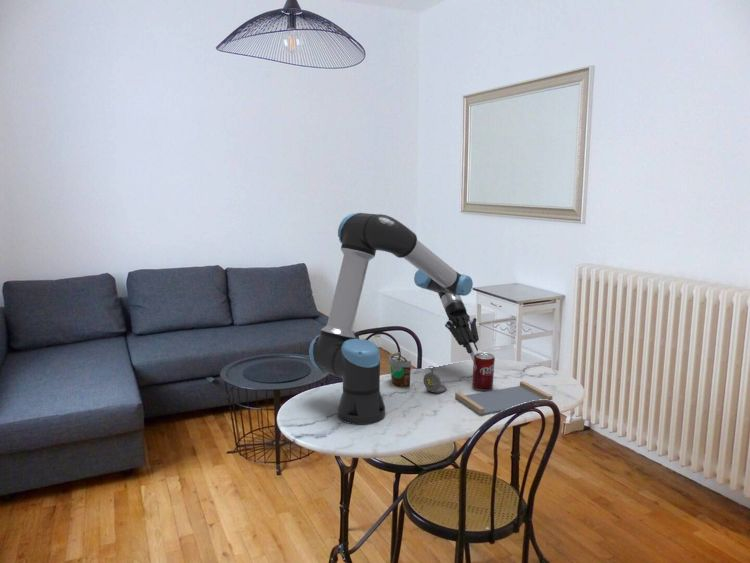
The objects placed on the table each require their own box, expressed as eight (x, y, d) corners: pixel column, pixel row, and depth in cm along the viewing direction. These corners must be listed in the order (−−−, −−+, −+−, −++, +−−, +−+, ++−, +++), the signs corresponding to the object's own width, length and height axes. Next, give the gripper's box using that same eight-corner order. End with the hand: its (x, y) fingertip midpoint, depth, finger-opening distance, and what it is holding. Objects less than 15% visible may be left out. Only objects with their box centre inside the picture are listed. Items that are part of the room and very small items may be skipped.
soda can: (496, 387, 203) (498, 355, 200) (485, 393, 198) (487, 360, 195) (479, 381, 208) (481, 350, 205) (467, 387, 202) (469, 355, 200)
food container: (384, 379, 212) (383, 353, 211) (399, 377, 214) (399, 351, 212) (395, 390, 201) (394, 363, 199) (411, 388, 203) (411, 361, 201)
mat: (480, 415, 179) (480, 409, 178) (455, 398, 193) (455, 392, 192) (552, 402, 189) (552, 396, 189) (523, 386, 203) (523, 381, 203)
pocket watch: (445, 386, 204) (445, 360, 202) (447, 395, 196) (448, 367, 194) (422, 386, 204) (422, 360, 202) (423, 395, 196) (424, 367, 194)
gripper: (442, 301, 212) (465, 357, 200) (472, 298, 217) (496, 352, 205) (435, 312, 218) (457, 367, 205) (464, 309, 223) (487, 362, 210)
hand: (476, 360), depth 205 cm, fingers closed
